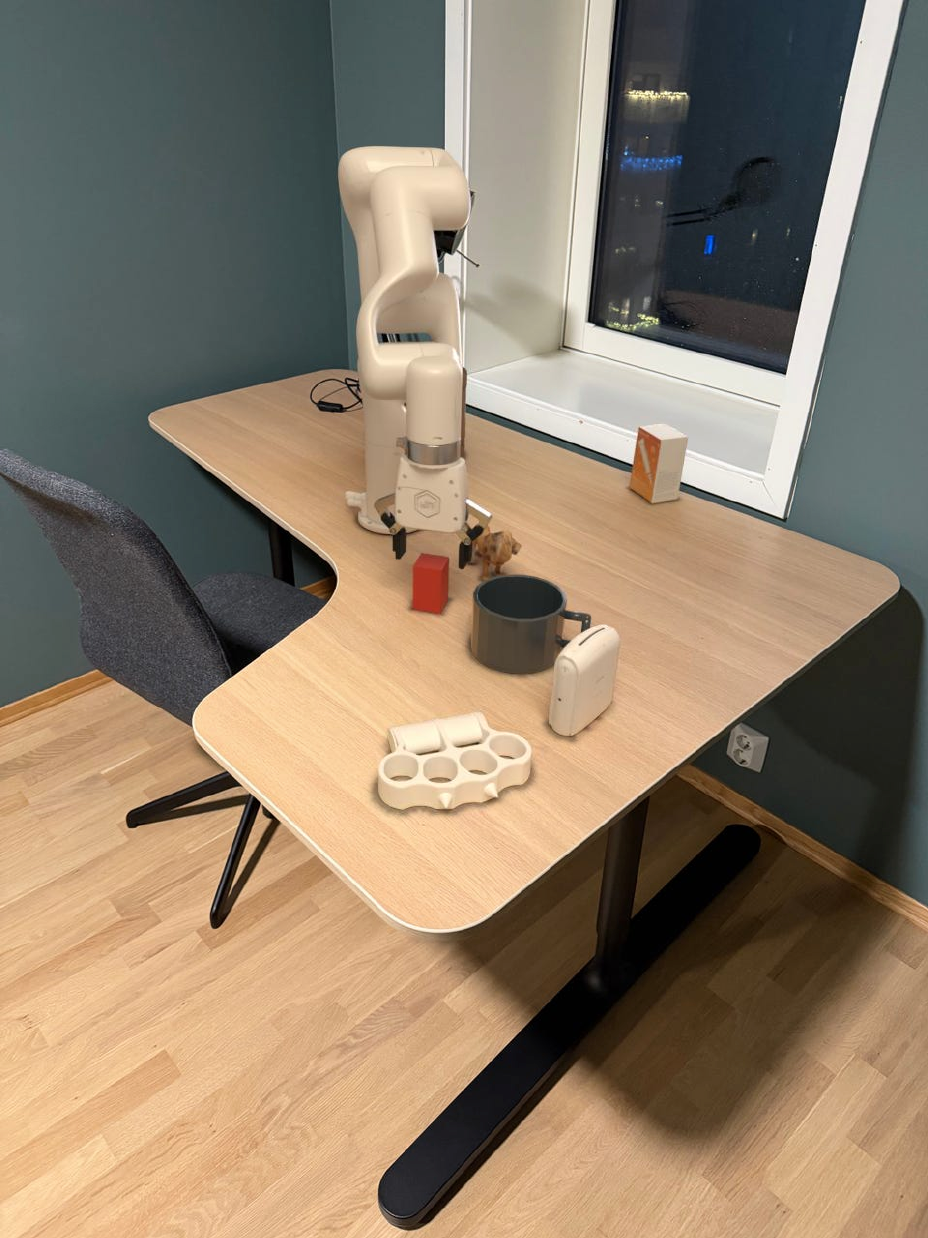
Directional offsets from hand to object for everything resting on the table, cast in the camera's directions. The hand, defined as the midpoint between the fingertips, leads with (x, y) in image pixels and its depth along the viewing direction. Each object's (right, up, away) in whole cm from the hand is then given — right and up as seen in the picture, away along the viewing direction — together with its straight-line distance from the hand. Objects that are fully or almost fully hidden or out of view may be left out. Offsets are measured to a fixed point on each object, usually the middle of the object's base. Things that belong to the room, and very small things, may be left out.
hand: (431, 560), depth 130 cm
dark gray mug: (+14, -13, -5) cm, 20 cm away
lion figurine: (+9, -1, +15) cm, 17 cm away
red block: (0, -6, +4) cm, 8 cm away
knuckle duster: (+3, -27, -28) cm, 39 cm away
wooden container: (-3, +27, +59) cm, 65 cm away
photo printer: (+20, -21, -18) cm, 34 cm away
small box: (+42, +16, +44) cm, 63 cm away
